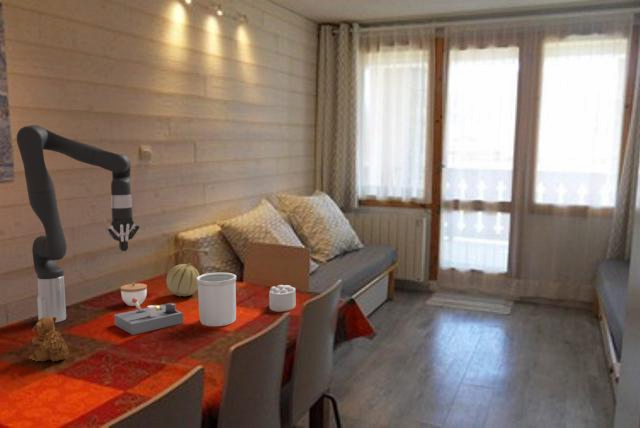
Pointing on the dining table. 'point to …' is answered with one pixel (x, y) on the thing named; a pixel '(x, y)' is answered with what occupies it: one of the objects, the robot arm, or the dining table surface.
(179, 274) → the cantaloupe
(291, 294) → the lumpy-topped squat cylinder
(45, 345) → the brown teddy bear
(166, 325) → the panel
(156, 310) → the button brass
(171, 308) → the button dark gray
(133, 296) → the lidded jar
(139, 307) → the toggle lever
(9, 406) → the dining table surface
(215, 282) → the utensil holder
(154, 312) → the matte white cuboid
